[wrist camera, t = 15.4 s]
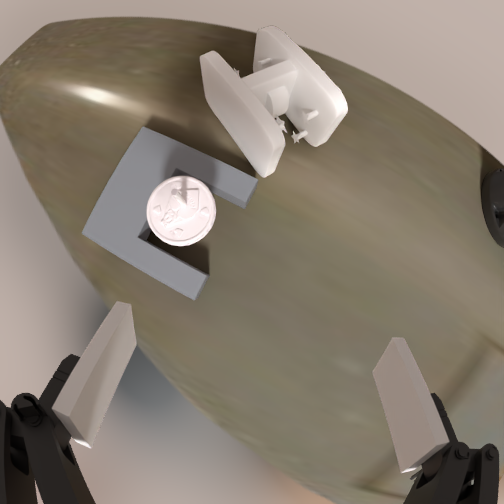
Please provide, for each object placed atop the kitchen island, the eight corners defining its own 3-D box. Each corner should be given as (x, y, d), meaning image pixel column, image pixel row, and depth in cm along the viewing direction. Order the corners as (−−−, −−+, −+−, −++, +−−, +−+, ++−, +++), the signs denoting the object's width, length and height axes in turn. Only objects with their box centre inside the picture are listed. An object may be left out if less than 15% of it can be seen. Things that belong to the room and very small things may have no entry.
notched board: (256, 188, 35) (258, 179, 32) (198, 297, 34) (194, 300, 30) (149, 138, 35) (142, 126, 31) (94, 236, 33) (81, 233, 30)
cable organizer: (201, 100, 35) (192, 46, 24) (264, 71, 36) (273, 17, 25) (261, 183, 35) (273, 145, 24) (326, 147, 36) (358, 103, 25)
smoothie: (231, 225, 35) (230, 196, 21) (193, 262, 34) (167, 258, 20) (195, 189, 35) (173, 141, 21) (158, 225, 34) (113, 199, 20)
